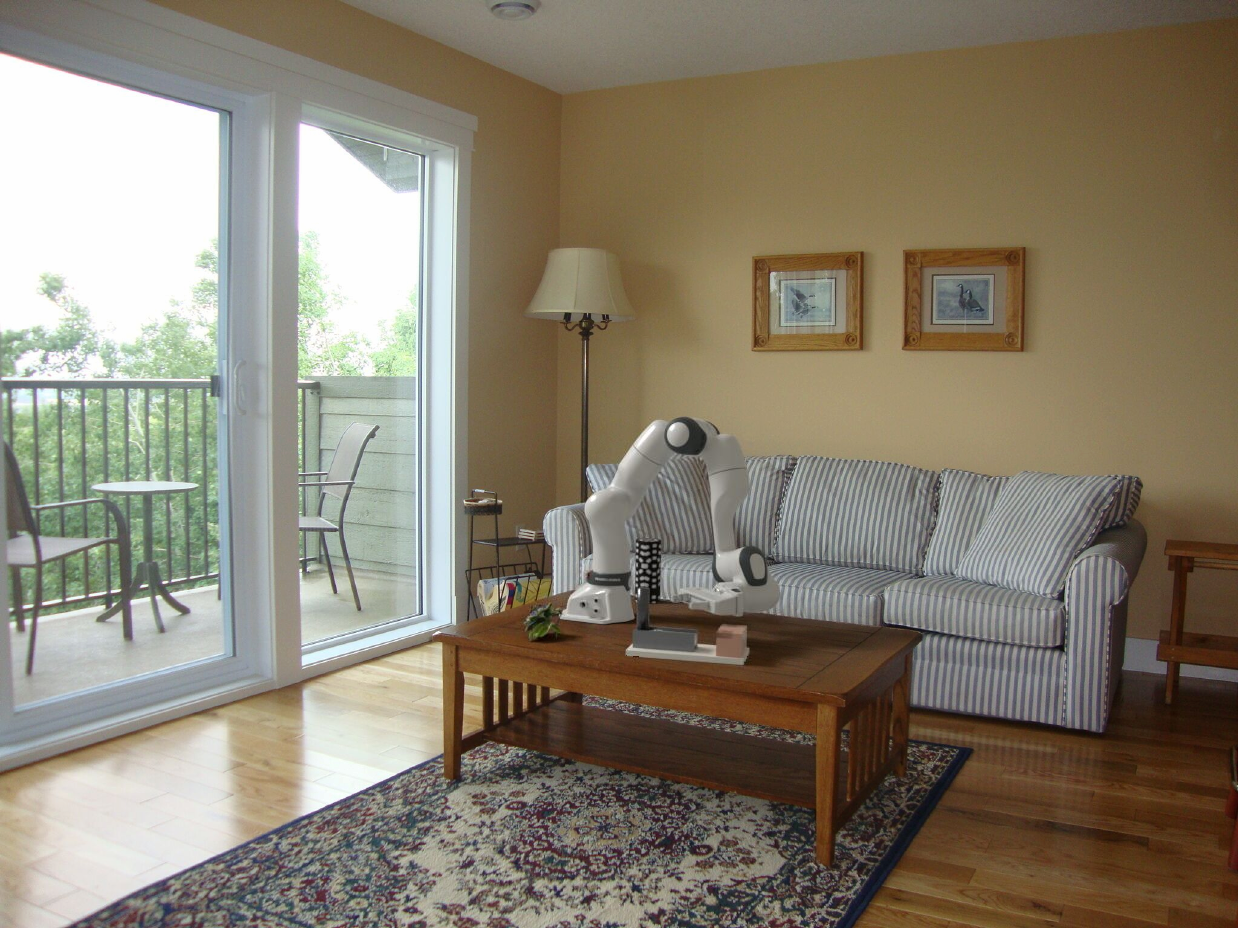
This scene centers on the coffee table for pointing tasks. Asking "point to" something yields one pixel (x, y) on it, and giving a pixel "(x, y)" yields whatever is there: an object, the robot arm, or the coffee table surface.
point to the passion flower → (542, 620)
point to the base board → (688, 654)
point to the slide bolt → (646, 610)
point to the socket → (731, 640)
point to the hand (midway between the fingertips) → (681, 602)
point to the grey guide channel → (665, 639)
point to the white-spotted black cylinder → (648, 567)
